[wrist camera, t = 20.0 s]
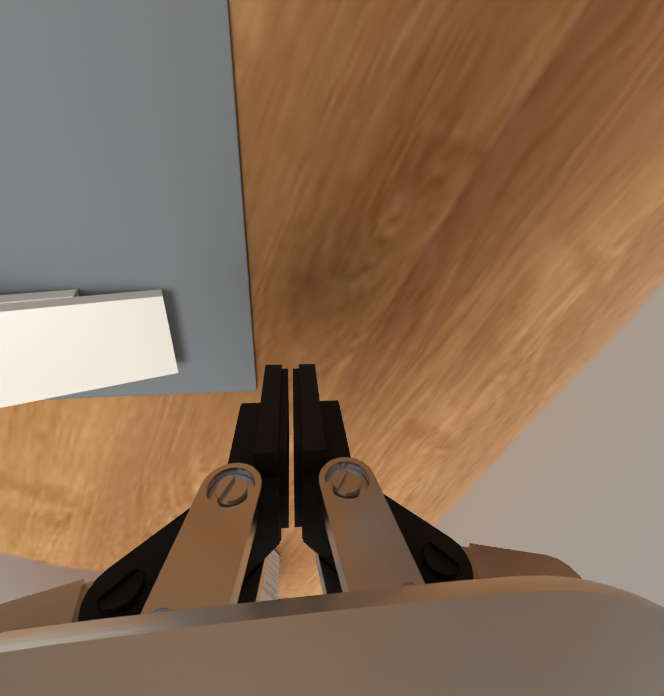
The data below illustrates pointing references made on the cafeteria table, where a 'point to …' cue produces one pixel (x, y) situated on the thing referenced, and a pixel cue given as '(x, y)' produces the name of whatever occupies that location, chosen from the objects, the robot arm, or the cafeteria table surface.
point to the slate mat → (129, 172)
